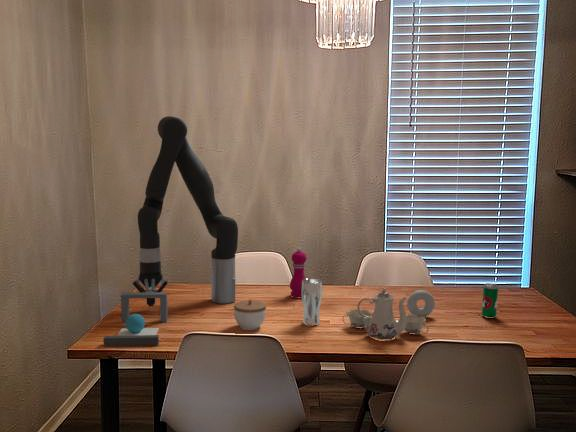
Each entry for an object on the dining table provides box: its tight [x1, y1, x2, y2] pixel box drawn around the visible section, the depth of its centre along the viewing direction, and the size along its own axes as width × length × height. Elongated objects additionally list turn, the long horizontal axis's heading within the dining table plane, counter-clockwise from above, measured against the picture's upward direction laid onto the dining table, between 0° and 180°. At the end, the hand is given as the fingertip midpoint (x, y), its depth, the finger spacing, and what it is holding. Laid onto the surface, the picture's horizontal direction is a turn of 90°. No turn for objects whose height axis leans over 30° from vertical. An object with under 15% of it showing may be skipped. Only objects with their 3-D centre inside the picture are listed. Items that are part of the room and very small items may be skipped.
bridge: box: [120, 291, 169, 324], centre depth 187 cm, size 3×15×10 cm, turn 95°
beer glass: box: [301, 278, 323, 325], centre depth 187 cm, size 7×7×15 cm
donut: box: [406, 289, 436, 318], centre depth 195 cm, size 10×4×10 cm, turn 94°
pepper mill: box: [289, 247, 308, 298], centre depth 220 cm, size 7×7×20 cm
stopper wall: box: [103, 334, 160, 347], centre depth 165 cm, size 16×2×2 cm, turn 95°
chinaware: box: [342, 287, 429, 339], centre depth 177 cm, size 28×17×17 cm, turn 78°
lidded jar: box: [233, 299, 267, 331], centre depth 182 cm, size 11×11×9 cm
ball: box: [125, 313, 146, 333], centre depth 176 cm, size 6×6×6 cm
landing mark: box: [116, 327, 160, 336], centre depth 174 cm, size 12×12×1 cm
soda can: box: [481, 282, 499, 317], centre depth 196 cm, size 5×5×12 cm
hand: (151, 305), depth 201 cm, fingers closed
